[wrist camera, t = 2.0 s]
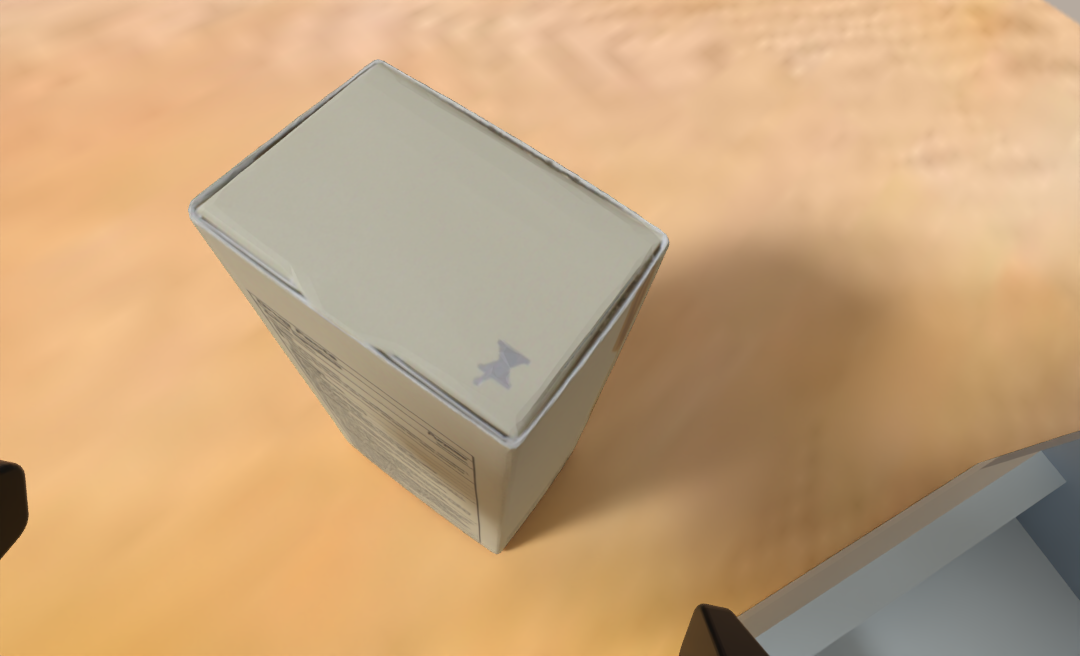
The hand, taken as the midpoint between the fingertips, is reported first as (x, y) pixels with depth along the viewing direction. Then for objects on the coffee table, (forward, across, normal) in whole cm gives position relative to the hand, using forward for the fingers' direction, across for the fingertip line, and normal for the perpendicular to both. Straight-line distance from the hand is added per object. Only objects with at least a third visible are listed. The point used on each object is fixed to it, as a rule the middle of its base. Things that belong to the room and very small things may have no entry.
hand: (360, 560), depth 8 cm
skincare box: (+11, 0, +5) cm, 12 cm away
